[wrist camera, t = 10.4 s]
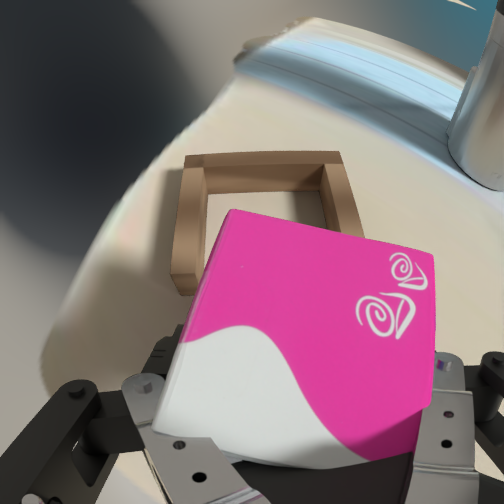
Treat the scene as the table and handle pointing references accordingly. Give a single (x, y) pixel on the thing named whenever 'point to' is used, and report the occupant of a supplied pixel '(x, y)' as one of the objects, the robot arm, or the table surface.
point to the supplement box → (304, 347)
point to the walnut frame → (254, 180)
